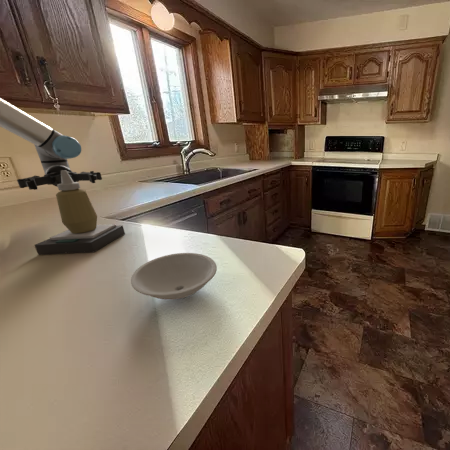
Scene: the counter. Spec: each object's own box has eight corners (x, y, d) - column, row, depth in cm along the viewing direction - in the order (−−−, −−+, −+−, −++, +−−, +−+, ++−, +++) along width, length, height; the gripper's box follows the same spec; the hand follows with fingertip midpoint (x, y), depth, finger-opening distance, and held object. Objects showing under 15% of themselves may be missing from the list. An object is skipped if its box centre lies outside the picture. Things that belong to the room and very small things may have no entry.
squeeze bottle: (103, 229, 74) (84, 169, 68) (68, 237, 69) (44, 173, 63) (98, 224, 80) (80, 168, 74) (65, 231, 74) (42, 171, 68)
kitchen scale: (38, 254, 68) (32, 242, 66) (78, 235, 81) (74, 225, 80) (94, 252, 68) (89, 239, 67) (125, 233, 81) (122, 223, 80)
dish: (236, 292, 48) (233, 270, 47) (159, 334, 38) (151, 308, 37) (193, 265, 60) (190, 246, 58) (125, 292, 49) (118, 270, 48)
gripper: (105, 181, 99) (116, 187, 85) (14, 191, 83) (10, 201, 69) (99, 162, 97) (110, 165, 83) (5, 169, 80) (-2, 174, 66)
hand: (65, 181), depth 76 cm, fingers open, 13 cm apart
